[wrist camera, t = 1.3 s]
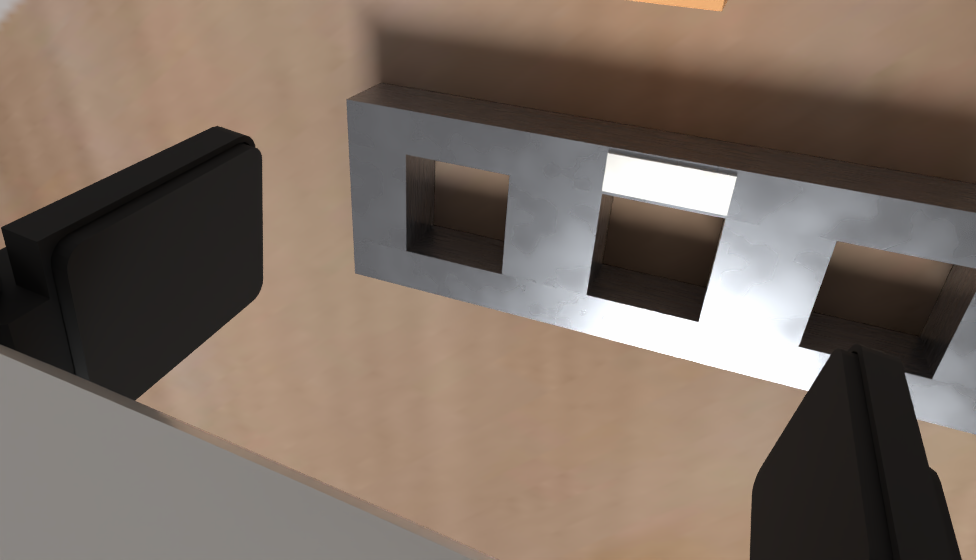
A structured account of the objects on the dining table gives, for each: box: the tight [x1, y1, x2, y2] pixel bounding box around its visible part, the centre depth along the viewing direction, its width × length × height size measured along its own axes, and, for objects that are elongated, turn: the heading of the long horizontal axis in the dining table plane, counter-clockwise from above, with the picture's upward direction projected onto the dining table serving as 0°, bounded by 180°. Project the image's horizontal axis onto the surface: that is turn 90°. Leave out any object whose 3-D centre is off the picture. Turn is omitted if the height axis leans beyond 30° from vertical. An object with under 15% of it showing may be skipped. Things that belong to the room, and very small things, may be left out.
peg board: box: [347, 83, 976, 434], centre depth 33 cm, size 32×10×4 cm, turn 86°
